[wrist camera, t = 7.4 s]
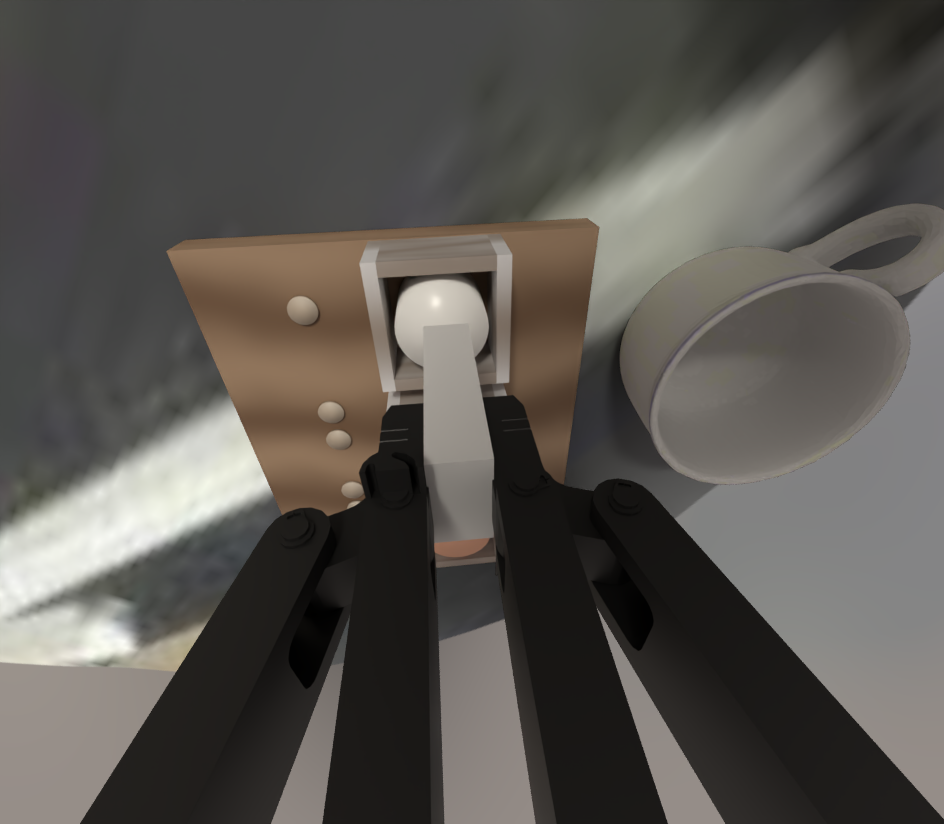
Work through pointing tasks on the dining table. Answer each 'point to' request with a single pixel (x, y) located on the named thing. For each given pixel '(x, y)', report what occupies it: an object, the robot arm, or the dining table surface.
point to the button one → (438, 310)
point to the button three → (460, 547)
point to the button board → (382, 339)
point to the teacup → (775, 348)
